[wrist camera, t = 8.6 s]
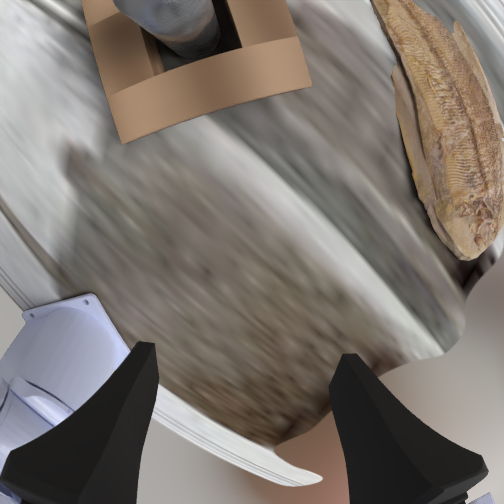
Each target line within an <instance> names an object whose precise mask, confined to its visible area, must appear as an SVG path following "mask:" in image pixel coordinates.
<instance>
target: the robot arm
mask: <svg viewBox="0 0 504 504" xmlns="http://www.w3.org/2000/svg"><path fill="white" fill-rule="evenodd" d="M86 300H87V301H88V302H87V301H86ZM22 317H23V318H24V320H25V321H26V324H25V326H24V327H23V329H22V330H21V331H20V333H19V334H18V335H17V337H16V338H15V340H14V341H13V343H12V344H11V345H10V347H9V348H8V350H7V351H6V353H5V354H4V356H3V357H2V359H1V360H0V504H136V499H137V488H138V478H139V469H140V461H141V455H142V450H143V446H144V442H145V438H146V434H147V431H148V427H149V423H150V420H151V416H152V413H153V409H154V405H155V402H156V396H157V390H158V383H159V373H158V366H157V358H156V350H155V343H149V342H142V341H139V342H137V343H136V345H135V346H134V347H133V349H132V350H131V351H130V350H129V348H128V347H127V345H126V344H125V342H124V341H123V339H122V338H121V336H120V334H119V333H118V331H117V330H116V328H115V327H114V325H113V323H112V322H111V320H110V318H109V317H108V315H107V314H106V312H105V310H104V308H103V307H102V305H101V303H100V302H99V300H98V298H97V297H96V295H94V294H92V293H89V294H85V295H81V296H77V297H74V298H70V299H66V300H63V301H59V302H55V303H52V304H48V305H44V306H41V307H37V308H33V309H30V310H26V311H24V312H23V313H22ZM113 370H115V371H114V373H113V374H112V371H113ZM111 374H112V375H111ZM329 392H330V400H331V407H332V411H333V415H334V419H335V422H336V426H337V429H338V433H339V437H340V441H341V444H342V448H343V451H344V456H345V461H346V468H347V476H348V485H349V497H350V504H466V503H465V500H466V499H467V498H468V495H467V492H466V491H468V490H469V489H471V488H472V487H473V486H475V485H476V484H477V483H479V482H480V481H481V480H482V479H484V478H485V477H486V476H487V474H488V472H489V471H488V469H487V466H486V464H485V462H484V460H483V457H482V456H481V455H479V454H477V453H474V452H472V451H470V450H467V449H465V448H463V447H461V446H459V445H457V444H455V443H454V442H452V441H450V440H448V439H447V438H445V437H443V436H441V435H440V434H439V433H437V432H436V431H434V430H433V429H431V428H430V427H429V426H427V425H426V424H424V423H423V422H422V421H421V420H420V419H418V418H417V417H416V416H415V415H414V414H412V413H411V412H410V411H409V410H408V409H407V408H406V407H405V406H404V405H403V404H402V403H400V401H399V400H398V399H397V398H396V397H395V396H394V395H393V394H392V393H391V392H390V391H389V390H388V389H387V388H386V387H385V386H384V384H383V383H381V381H380V380H379V379H378V378H377V376H376V375H375V374H374V373H373V372H372V371H371V370H370V368H369V367H368V366H367V365H366V364H365V363H364V361H363V360H362V359H361V358H360V357H359V356H358V355H357V354H342V357H341V359H340V362H339V364H338V366H337V369H336V371H335V374H334V376H333V378H332V381H331V383H330V385H329ZM469 504H495V503H494V500H493V498H492V495H491V493H487V494H485V495H483V496H482V497H480V498H478V499H476V500H474V501H472V502H470V503H469Z"/></svg>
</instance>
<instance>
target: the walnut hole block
mask: <svg viewBox="0 0 504 504" xmlns="http://www.w3.org/2000/svg"><path fill="white" fill-rule="evenodd" d="M81 1H82V6H83V11H84V15H85V19H86V24H87V28H88V32H89V36H90V40H91V44H92V48H93V52H94V55H95V59H96V63H97V66H98V70H99V73H100V77H101V80H102V84H103V87H104V90H105V94H106V97H107V100H108V103H109V106H110V110H111V113H112V116H113V119H114V122H115V125H116V128H117V131H118V134H119V137H120V140H121V143H122V144H125V143H128V142H130V141H133V140H136V139H139V138H141V137H144V136H146V135H149V134H152V133H154V132H157V131H159V130H162V129H165V128H167V127H170V126H173V125H176V124H179V123H181V122H184V121H187V120H190V119H193V118H196V117H199V116H202V115H205V114H208V113H212V112H215V111H218V110H221V109H225V108H228V107H232V106H235V105H239V104H242V103H246V102H250V101H253V100H257V99H261V98H265V97H269V96H274V95H278V94H282V93H287V92H291V91H296V90H301V89H304V88H308V87H311V86H312V82H311V79H310V75H309V72H308V68H307V65H306V61H305V58H304V55H303V52H302V48H301V45H300V42H299V39H298V36H297V33H296V30H295V27H294V24H293V21H292V18H291V15H290V12H289V9H288V6H287V4H286V1H285V0H224V3H225V5H226V8H227V11H228V14H229V17H230V20H231V23H232V26H233V29H234V32H235V35H236V38H237V42H238V45H239V48H240V49H236V50H232V51H229V52H225V53H221V54H218V55H215V56H211V57H208V58H205V59H202V60H198V61H195V62H192V63H189V64H186V65H184V66H181V67H178V68H175V69H172V70H170V71H167V72H165V70H164V67H163V63H162V60H161V57H160V54H159V50H158V47H157V44H156V40H155V37H154V36H153V35H152V34H151V33H149V32H148V31H147V30H145V29H144V28H143V27H141V26H140V25H139V24H137V23H136V22H135V21H133V20H132V19H130V18H129V17H128V16H126V15H125V14H123V13H122V12H121V11H120V10H118V8H117V7H116V6H115V4H114V2H113V0H81Z"/></svg>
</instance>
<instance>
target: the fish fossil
mask: <svg viewBox="0 0 504 504" xmlns="http://www.w3.org/2000/svg"><path fill="white" fill-rule="evenodd" d="M370 2H371V3H372V6H373V9H374V12H375V14H376V16H377V18H378V20H379V22H380V25H381V28H382V30H383V32H384V34H385V35H386V37H387V39H388V41H389V43H390V45H391V47H392V49H393V51H394V53H395V55H396V57H397V63H398V66H394V67H395V68H394V69H393V71H392V74H391V78H392V80H393V86H394V88H395V99H396V115H397V118H398V120H399V124H400V128H401V131H402V136H403V141H404V144H405V148H406V153H407V156H408V159H409V162H410V165H411V169H412V171H413V172H412V176H413V178H414V181H415V185H416V188H417V191H418V196H419V199H420V200H421V201H422V203H423V204H424V207H425V209H426V210H427V211H428V212H427V214H428V216H429V217H430V219H431V224H432V226H433V228H434V230H435V233H436V234H437V235H438V237H439V238H440V240H441V241H442V242H443V243H444V244H445V245H446V246H447V247H448V248H449V249H450V250H451V251H452V252H453V253H454V255H456V256H457V258H458V259H460V260H467V261H469V260H472V259H474V258H477V257H478V256H479V255H480V254H481V253H482V252H483V251H484V250H485V249H486V248H487V247H488V246H490V245H491V243H492V242H493V241H494V240H495V238H496V237H497V235H498V234H499V233H500V231H501V229H502V227H503V225H504V142H503V141H502V137H503V138H504V132H503V128H502V125H501V121H500V116H499V113H498V110H497V107H496V103H495V100H494V98H493V96H492V92H491V90H490V86H489V83H488V81H487V79H486V76H485V74H484V72H483V69H482V67H481V65H480V62H479V59H478V58H477V56H476V54H475V52H474V50H473V48H472V46H471V43H470V42H469V40H468V38H467V36H466V34H465V32H464V30H463V28H462V26H461V25H460V23H459V22H457V21H455V22H454V28H453V29H454V33H450V32H449V31H448V30H447V29H446V28H445V26H444V25H443V24H442V23H441V22H440V21H439V19H438V18H437V17H433V16H431V15H430V14H428V13H425V12H424V10H422V9H421V8H420V7H418V6H417V5H415V4H414V3H413V1H412V0H370Z"/></svg>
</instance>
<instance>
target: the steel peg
mask: <svg viewBox="0 0 504 504" xmlns="http://www.w3.org/2000/svg"><path fill="white" fill-rule="evenodd" d="M113 2H114V4H115V6H116V7H117V8H118V10H120V11H121V12H122V13H123V14H125V15H126V16H128V17H129V18H130V19H132V20H133V21H135V22H136V23H137V24H139V25H140V26H141V27H143V28H144V29H145V30H147V31H148V32H149V33H151V34H152V35H153V36H155V37H156V38H157V39H159V40H160V41H161V42H163V43H164V44H165V45H166V46H168V47H169V48H170V49H171V50H173V51H174V52H175V53H176V54H178V55H179V56H182V57H184V58H189V59H195V58H200V57H203V56H206V55H207V54H209V53H210V52H212V51H213V50H214V49H215V48H216V46H217V45H218V43H219V40H220V28H219V25H218V21H217V18H216V14H215V11H214V7H213V4H212V0H113Z"/></svg>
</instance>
